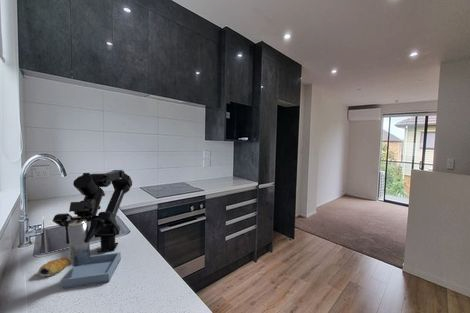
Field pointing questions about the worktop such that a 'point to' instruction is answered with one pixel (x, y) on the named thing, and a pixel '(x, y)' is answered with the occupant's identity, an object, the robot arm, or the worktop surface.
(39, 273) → the pastry
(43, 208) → the worktop surface
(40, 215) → the worktop surface
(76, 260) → the canister
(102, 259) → the bin
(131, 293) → the worktop surface
